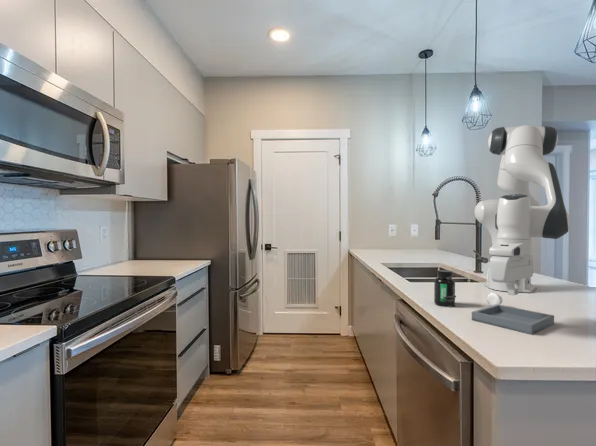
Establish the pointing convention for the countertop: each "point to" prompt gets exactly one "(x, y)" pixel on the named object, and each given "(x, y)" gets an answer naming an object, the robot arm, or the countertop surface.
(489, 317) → the tray
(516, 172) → the robot arm
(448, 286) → the supplement bottle
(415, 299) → the countertop surface
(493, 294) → the small white bowl
